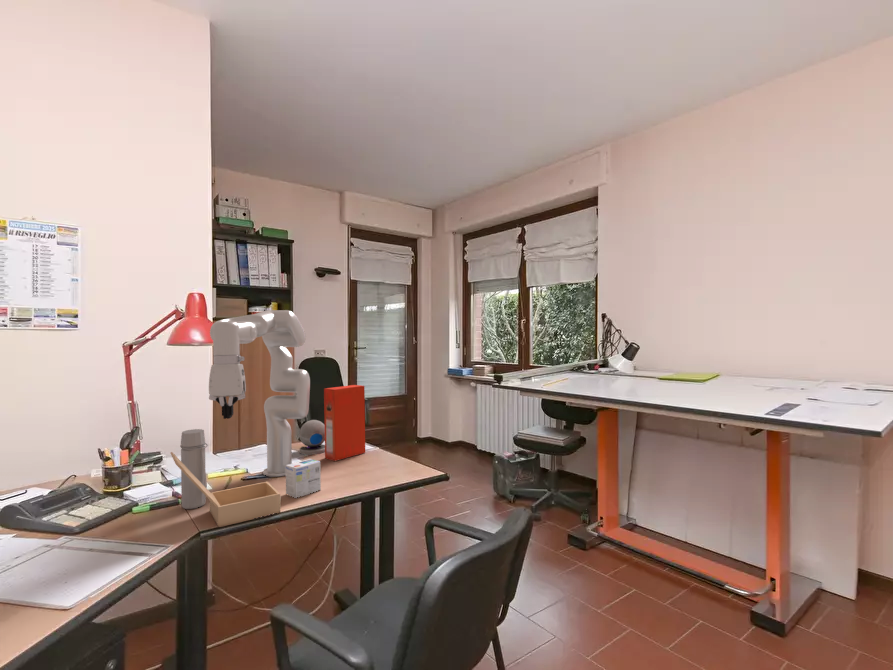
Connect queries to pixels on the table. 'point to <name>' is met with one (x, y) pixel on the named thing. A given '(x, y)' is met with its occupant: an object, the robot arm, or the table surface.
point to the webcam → (312, 437)
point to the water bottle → (193, 467)
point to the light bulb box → (303, 478)
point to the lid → (193, 479)
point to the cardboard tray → (244, 503)
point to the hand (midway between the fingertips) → (227, 417)
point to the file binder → (344, 421)
